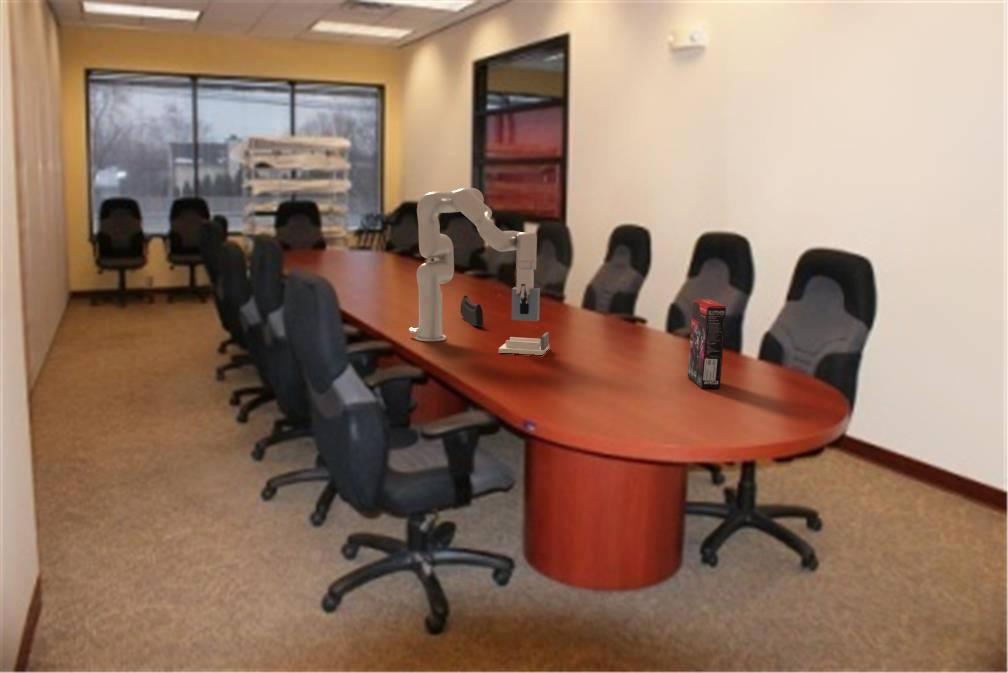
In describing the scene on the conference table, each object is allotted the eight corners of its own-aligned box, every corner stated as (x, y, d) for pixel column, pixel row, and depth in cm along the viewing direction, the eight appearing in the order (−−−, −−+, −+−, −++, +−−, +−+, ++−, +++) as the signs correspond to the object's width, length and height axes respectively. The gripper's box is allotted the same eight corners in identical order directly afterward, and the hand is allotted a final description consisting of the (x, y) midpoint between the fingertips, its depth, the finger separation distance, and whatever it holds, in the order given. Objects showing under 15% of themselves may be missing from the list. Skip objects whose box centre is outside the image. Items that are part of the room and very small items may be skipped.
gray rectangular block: (511, 319, 340) (512, 288, 338) (513, 318, 344) (514, 287, 341) (537, 321, 338) (537, 289, 335) (539, 319, 341) (539, 288, 339)
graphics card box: (686, 377, 303) (690, 298, 299) (706, 377, 304) (710, 298, 299) (701, 389, 287) (706, 305, 282) (722, 389, 287) (727, 305, 282)
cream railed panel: (498, 353, 338) (499, 335, 337) (506, 346, 351) (507, 329, 350) (542, 356, 334) (543, 338, 333) (549, 349, 348) (549, 331, 346)
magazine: (485, 309, 388) (469, 281, 414) (478, 309, 387) (462, 281, 413) (481, 344, 396) (466, 314, 421) (474, 344, 395) (459, 314, 420)
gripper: (521, 262, 346) (520, 309, 349) (511, 266, 330) (511, 315, 333) (540, 263, 344) (539, 310, 347) (531, 267, 328) (530, 316, 331)
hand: (525, 312), depth 340 cm, fingers closed on gray rectangular block, 4 cm apart
